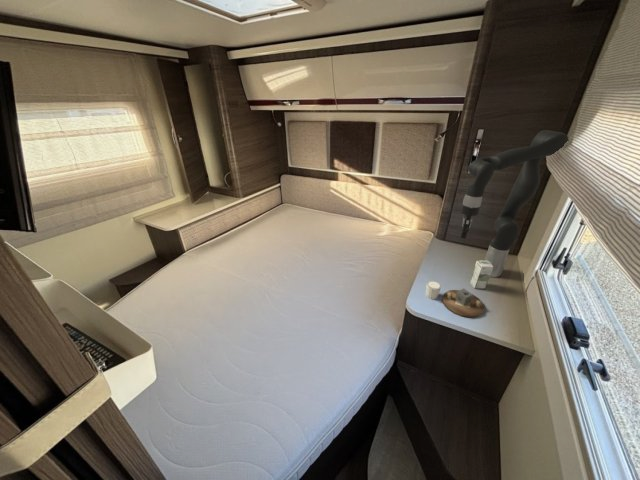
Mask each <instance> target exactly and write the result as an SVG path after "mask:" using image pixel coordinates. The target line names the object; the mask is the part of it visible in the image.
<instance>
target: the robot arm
mask: <svg viewBox="0 0 640 480" xmlns="http://www.w3.org/2000/svg"><path fill="white" fill-rule="evenodd" d="M567 141H568V142H569V136H568V135H567V134H566V133H564V132H560V131H555V130H549V129H543V130H540V131H539V132H538V133H537V134H536V135H535V136H534V138H533V139H532V141H531V144H530V145H529V146H524V147H523V146H522V147H517V148H512V149H507V150H505V151H502V152H499V153H497V154H495V155H489V156H484V157H481V158H476V159H475V160H474V161H472V162H471V163H470V164H469V165H468V167H467V168H468V169H467V170H468V173H469V174H470V175H471V176H474V177H476V178H475V180H472V181H470V182H468V184H467V187H466V190H465V195H464V197H463V200H462V205H461V208H460V213H461V214H462V215H463V217H462V225H461V235H460V238H461V239H464V240H465V239H466V238H467V235H468V233H469V229H470V228H471V225H472V223H473V217H475V216H478V215H479V212H480V209H481V205H482V201H483V195H484V193H485V188H486V186H487V185H488V183H489V182H490V180H491V178H492V177H493V175H494V172H495V171H501V170H505V169H507V168H509V167H512V166H515V165H518V164H521V163H523V165H522V167H521V169H520V172H519V174H518V176H517V178H516V180H515V182H514V184H513V186H512V189H511V191H510V193H509V195H508V197H507V199H506V202H505V204H504V206H503V208H502V209H501V211H500V213H499V215H498V216H497V218H496V219H495V221H494V224H493V228H494V230H495V231H496V235H495V237H494V238H492V239H491V240H490V243H489V245H488V250H487V252H486V255H485V258H484V261H489V262H490V263H491V264H492V266H493V270H492V272H491V275H490V277H491V278H499V277H500V275H501V274H503V272H504V271H503V270H504V267H505V265H506V263H507V258H508V256H509V252H510V249H511V247H512V246H513V245H514V244H515V242H516V240H517V236H518V234H519V231H520V226H519V224H518V223H517V222H516V217H517V216H518V213H519V211H520V210H521V209H522V207H524V206H525V205H526V204H528V202H530V200H531V199H532V198H533V197H534V196H535V194H536V192H537V189H538V187H539V185H540V183H541V181H540V180H541V175H540V174H541V173H540V165H541V164H540V163H541V161H542V158H544V157H549V156H553V155H552V154H554V153H555V152H556V151H558V150H559V149H560V148H562V147H563V146H564V144H565V143H566V142H567ZM554 155H555V154H554Z"/></svg>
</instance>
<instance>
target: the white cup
mask: <svg viewBox="0 0 640 480" xmlns="http://www.w3.org/2000/svg"><path fill="white" fill-rule="evenodd" d="M441 289H442V284H441V283H440V282H438V281H436V280H428V281H427V282H426V288H425V297H426V298H428V299H430V300H436V299H438V297H439V294H440V292H441Z"/></svg>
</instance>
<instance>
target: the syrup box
mask: <svg viewBox="0 0 640 480" xmlns="http://www.w3.org/2000/svg"><path fill="white" fill-rule="evenodd" d="M492 270H493V266H492V264H491V263H490V262H489V261H485V260H476V262H475V266H474V268H473V271H472V273H471V277H470V280H469V283H470V285H471V286H472V287H473V289H477V290H478V289H479V290H480V289H481V290H482V289H483V290H485V289H486V288H487V285H488V283H489V280H490V275H491V272H492Z"/></svg>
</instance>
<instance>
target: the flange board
mask: <svg viewBox="0 0 640 480" xmlns="http://www.w3.org/2000/svg"><path fill="white" fill-rule="evenodd" d="M460 290H461V289H450V290H447V291H446V292H444V293H443V295H442V299H441V300H442V304H443V306H444V307H445V308H446V309H447V310H448V311H449V312H451V313H452V314H454V315H457V316H459V317H463V318H466V319H467V318H469V319H472V318H474V319H475V318H478V317H480V316H482V315H483V313H484V311H485V305H484V303H483V302H482V300H481V299H480V298H478V297H477V295H475V294H473V297H472V300H471V303H469V304H467V305H465V306H463V305H461V304H460V303H458V302H457V301H456V300H455V296H456V293H457V292H458V291H460Z"/></svg>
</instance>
